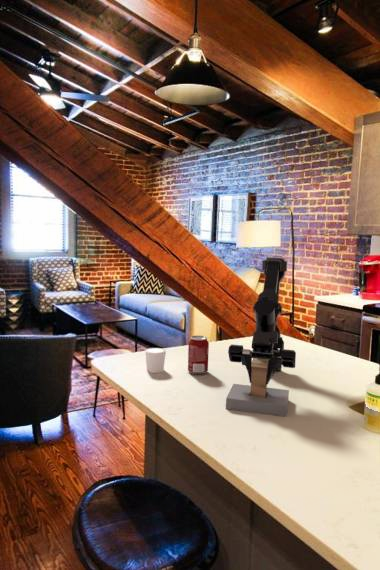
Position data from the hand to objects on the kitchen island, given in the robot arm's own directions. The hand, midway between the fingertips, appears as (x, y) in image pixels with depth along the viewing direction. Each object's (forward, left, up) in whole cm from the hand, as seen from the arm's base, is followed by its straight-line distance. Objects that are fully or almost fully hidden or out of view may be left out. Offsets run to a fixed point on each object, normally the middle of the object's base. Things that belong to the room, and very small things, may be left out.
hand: (258, 383), depth 124 cm
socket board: (-1, -1, -7) cm, 7 cm away
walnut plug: (-1, -1, -7) cm, 7 cm away
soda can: (0, -32, -7) cm, 33 cm away
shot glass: (+12, -40, -7) cm, 43 cm away
